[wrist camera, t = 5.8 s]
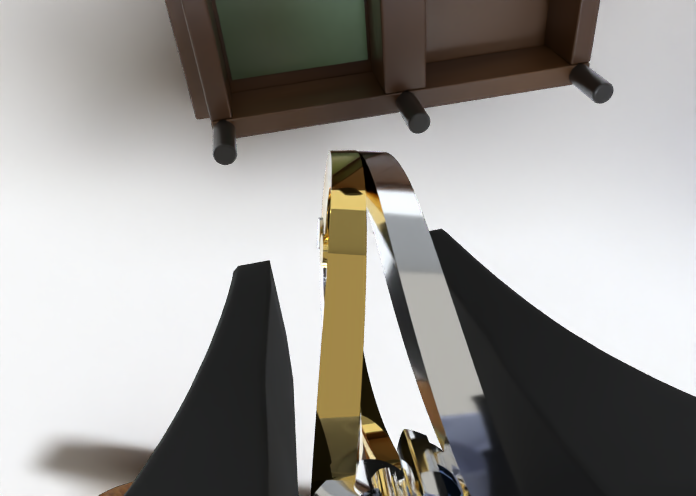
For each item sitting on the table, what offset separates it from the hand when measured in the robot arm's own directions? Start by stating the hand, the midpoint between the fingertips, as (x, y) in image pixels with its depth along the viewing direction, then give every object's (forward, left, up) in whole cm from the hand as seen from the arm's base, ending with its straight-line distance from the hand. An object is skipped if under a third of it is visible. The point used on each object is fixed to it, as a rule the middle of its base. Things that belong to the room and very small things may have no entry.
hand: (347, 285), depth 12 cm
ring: (0, 0, -2) cm, 2 cm away
